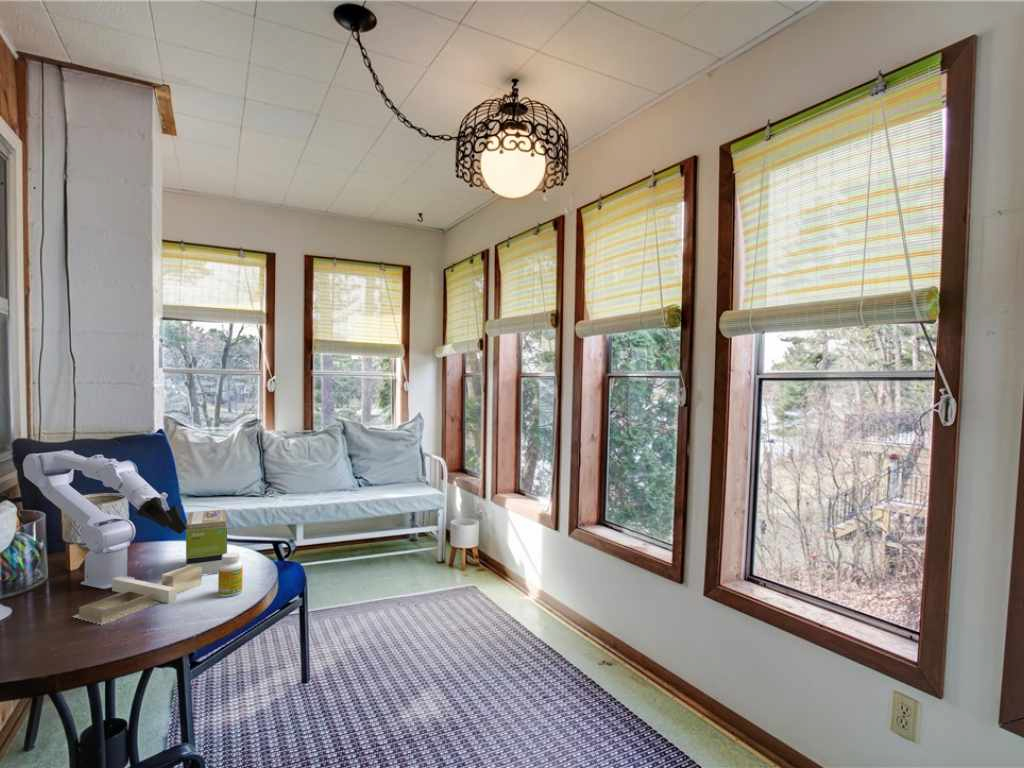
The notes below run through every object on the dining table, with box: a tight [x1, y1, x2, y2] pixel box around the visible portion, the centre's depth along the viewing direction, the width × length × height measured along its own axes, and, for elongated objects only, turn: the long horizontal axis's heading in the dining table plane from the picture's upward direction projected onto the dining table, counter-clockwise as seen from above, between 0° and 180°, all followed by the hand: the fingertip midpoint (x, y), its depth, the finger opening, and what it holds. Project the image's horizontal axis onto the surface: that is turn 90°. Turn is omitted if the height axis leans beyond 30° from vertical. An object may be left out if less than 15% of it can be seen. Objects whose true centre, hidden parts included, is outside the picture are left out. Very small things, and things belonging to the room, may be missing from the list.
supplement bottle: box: [217, 552, 244, 598], centre depth 141 cm, size 5×5×10 cm
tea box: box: [185, 508, 228, 575], centre depth 161 cm, size 15×10×15 cm, turn 27°
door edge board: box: [111, 576, 177, 604], centre depth 139 cm, size 20×2×3 cm, turn 69°
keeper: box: [71, 590, 160, 626], centre depth 130 cm, size 10×13×2 cm
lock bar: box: [161, 565, 203, 595], centre depth 143 cm, size 4×8×5 cm, turn 159°
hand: (175, 527), depth 141 cm, fingers open, 7 cm apart
